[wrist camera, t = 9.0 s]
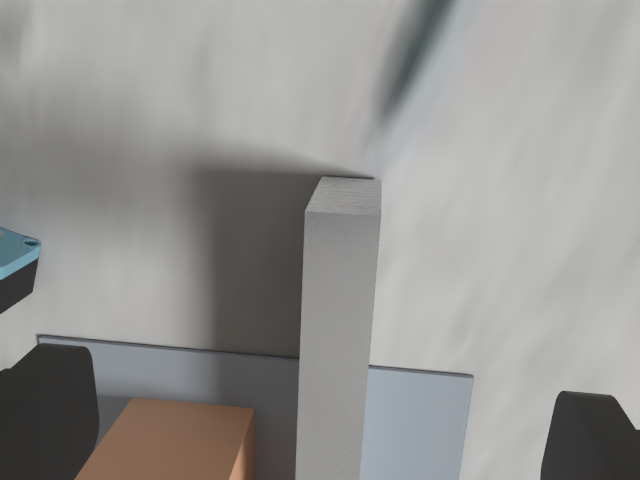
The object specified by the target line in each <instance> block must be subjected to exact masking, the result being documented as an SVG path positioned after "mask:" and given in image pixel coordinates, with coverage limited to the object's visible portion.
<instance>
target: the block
mask: <svg viewBox="0 0 640 480" xmlns="http://www.w3.org/2000/svg"><path fill="white" fill-rule="evenodd" d="M74 480H255V409H254V408H243V407H233V406H222V405H212V404H201V403H190V402H180V401H169V400H159V399H148V398H137V397H133V398H132V399H131V401H130V402H129V403H128V405H127V406H126V408H125V409H124V410H123V412H122V413H121V414H120V416H119V417H118V419H117V420H116V421H115V423H114V424H113V425H112V427H111V428H110V430H109V431H108V432H107V434H106V435H105V437H104V438H103V439H102V441H101V442H100V443H99V445H98V446H97V448H96V449H95V450H94V452H93V453H92V454H91V456H90V457H89V459H88V460H87V462H86V463H85V465H84V466H83V468H82V469H81V470H80V472H79V473H78V475H77V476H76V478H75V479H74Z"/></svg>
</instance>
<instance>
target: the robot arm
mask: <svg viewBox="0 0 640 480" xmlns="http://www.w3.org/2000/svg"><path fill="white" fill-rule="evenodd" d="M99 424H100V420H99V410H98V402H97V394H96V386H95V377H94V369H93V361H92V356H91V353H90V351H89V349H88V348H87V347H84V346H75V345H64V344H52V343H40V344H38V345H37V346H36V347H34V348H33V349H32V350H31V351H30V352H29V353H28V354H26V355H25V356H24V357H23V358H22V359H21V360H20V361H19V362H18V363H16V364H15V365H14V366H13V367H12V368H11V369H4V370H2V371H0V480H74V479H75V478H76V476H77V475H78V473H79V472H80V470H81V469H82V468H83V466H84V465H85V463H86V462H87V460H88V459H89V457H90V456H91V454H92V452H93V450H94V447H95V445H96V442H97V438H98V433H99ZM541 480H640V430H636V429H635V428H634V426H633V424H632V423H631V421H630V420H629V418H628V417H627V415H626V414H625V412H624V411H623V409H622V408H621V406H620V404H619V403H618V401H617V400H616V399H615V398H614V397H613V396H611V395H604V394H593V393H582V392H571V391H562V392H560V393H559V395H558V396H557V399H556V402H555V406H554V411H553V415H552V420H551V425H550V429H549V434H548V438H547V443H546V447H545V452H544V457H543V461H542V466H541Z"/></svg>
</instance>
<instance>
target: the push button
mask: <svg viewBox="0 0 640 480" xmlns="http://www.w3.org/2000/svg"><path fill="white" fill-rule="evenodd" d="M40 248H41V243H40V242H39V241H38V240H35V239H33V238H30V237H25V236H22V235H19V234H17V233H14V232H11V231H8V230H6V229H3V228H0V314H1V313H3V312H4V311H6V310H7V309H9V308H10V307H11V306H13V305H14V304H16V303H17V302H19V301H20V300H22V299H23V298H25V297H26V296H28V295H29V294H30V293H32V291H33V286H34V280H35V275H36V269H37V264H38V258H39V253H40Z"/></svg>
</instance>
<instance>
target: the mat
mask: <svg viewBox="0 0 640 480" xmlns="http://www.w3.org/2000/svg"><path fill="white" fill-rule="evenodd" d="M40 343H52V344H64V345H75V346H84V347H87V348H88V349H89V351H90V353H91V356H92V361H93V369H94V377H95V386H96V394H97V402H98V410H99V420H100V424H99V433H98V438H97V442H96V445H95V447H94V450H95V449H96V448H97V446H98V445H99V443H100V442H101V441H102V439H103V438H104V437H105V435H106V434H107V432H108V431H109V430H110V428H111V427H112V425H113V424H114V423H115V421H116V420H117V419H118V417H119V416H120V414H121V413H122V412H123V410H124V409H125V408H126V406H127V405H128V403H129V402H130V401H131V399H132V398H133V397H137V398H148V399H159V400H169V401H180V402H190V403H201V404H212V405H222V406H233V407H243V408H254V409H255V480H295V474H296V446H297V418H298V390H299V362H300V359H290V358H280V357H269V356H258V355H247V354H237V353H226V352H215V351H204V350H193V349H183V348H172V347H161V346H150V345H140V344H129V343H118V342H107V341H97V340H86V339H75V338H64V337H54V336H43V335H41V336H40V337H39V344H40ZM473 381H474V377H473V375H462V374H452V373H441V372H430V371H419V370H409V369H398V368H387V367H376V366H369V369H368V381H367V393H366V405H365V418H364V430H363V442H362V454H361V467H360V479H359V480H459V473H460V467H461V460H462V454H463V447H464V440H465V434H466V427H467V421H468V414H469V407H470V401H471V394H472V387H473ZM94 450H93V452H94ZM93 452H92V453H93Z"/></svg>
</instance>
